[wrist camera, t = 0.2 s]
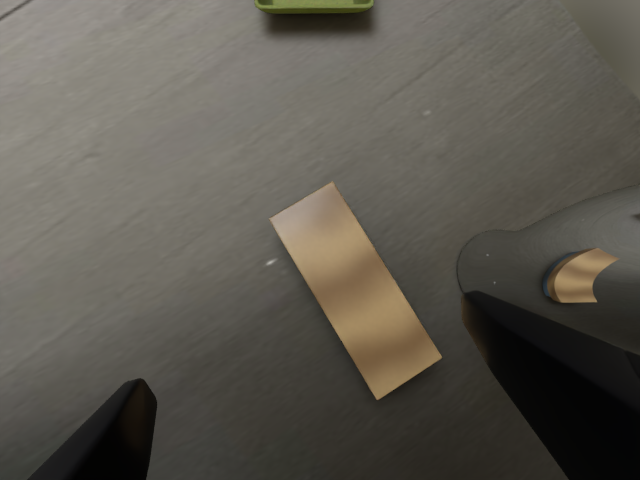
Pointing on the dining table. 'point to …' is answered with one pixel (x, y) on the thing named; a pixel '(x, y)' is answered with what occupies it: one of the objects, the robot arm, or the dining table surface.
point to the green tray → (313, 6)
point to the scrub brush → (355, 290)
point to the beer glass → (568, 266)
